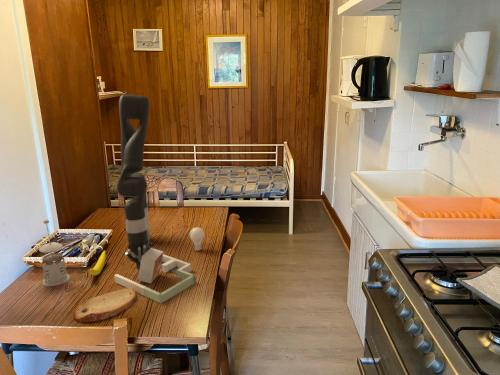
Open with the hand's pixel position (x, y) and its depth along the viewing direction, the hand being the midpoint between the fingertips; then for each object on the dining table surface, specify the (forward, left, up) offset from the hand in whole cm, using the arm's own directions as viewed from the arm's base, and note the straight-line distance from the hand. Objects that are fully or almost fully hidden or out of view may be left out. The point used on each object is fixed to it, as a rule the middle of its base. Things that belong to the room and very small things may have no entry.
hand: (141, 269), depth 150 cm
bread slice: (+7, -20, -4) cm, 22 cm away
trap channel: (+8, +3, -3) cm, 9 cm away
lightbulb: (+2, +30, -3) cm, 30 cm away
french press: (-27, -20, -3) cm, 34 cm away
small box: (+3, +1, -3) cm, 4 cm away
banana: (-18, -7, -3) cm, 20 cm away
